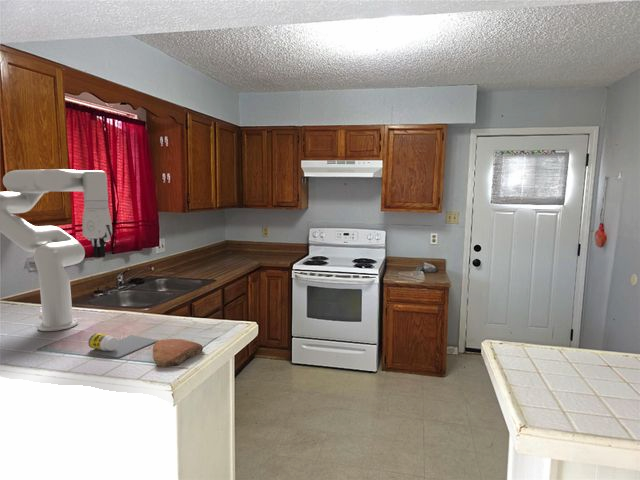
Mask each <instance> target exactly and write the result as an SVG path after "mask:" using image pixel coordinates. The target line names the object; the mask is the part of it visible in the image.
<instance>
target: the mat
mask: <svg viewBox="0 0 640 480" xmlns="http://www.w3.org/2000/svg"><path fill="white" fill-rule="evenodd" d="M117 341H118V345H117V347H116V348H115V349H114V350H112V351H109V350H108V351H103V350H98V349H94V348H93V349H92V350H89V353H92V354H95V355H101V356H104V357H105V356H106V357H110V358H115V359H120V358H122V357H125V356H127V355H129V354H131V353H135V352H137V351H139V350H141V349H144V348H146V347H148V346H150V345H154V344H155V343H156V341H159V339H155V338H150V337H149V338H148V337H144V336H137V335H132V334H131V335H129V336H125V337H122V338H120V339H117Z"/></svg>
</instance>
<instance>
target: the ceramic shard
mask: <svg viewBox="0 0 640 480" xmlns="http://www.w3.org/2000/svg"><path fill="white" fill-rule="evenodd" d="M203 349H204V347H203V345H202V344H200V343H198V342H195V341H190V340H187V339H182V338H181V339H180V338H168V339H167V338H166V339H161V340H159V339H158V341H156V343H153V347H152V358H153V361H154V362H155V364H157V366H158V367H159V368H165V367H166V368H167V367H172V366H173V367H174V366H179V365H182V363H184V362H185V361H186V360H187V359H188V358H192V357H194V356H195V355H198V354H201V353H202V352H203Z"/></svg>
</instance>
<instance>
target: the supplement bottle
mask: <svg viewBox="0 0 640 480" xmlns="http://www.w3.org/2000/svg"><path fill="white" fill-rule="evenodd" d="M117 340H118V339H117V338H116V337H113V336H111V335H110V334H109V335H108V334H103V333H99V332H95V333H92V334H91V335H90V336H89V338H88V340H87V345H88V347H89V348H91V349H93V350H94V349H98V350H103V351H108V350H109V351H112V350H114V349H115V348H116V347H117V345H118V341H117Z"/></svg>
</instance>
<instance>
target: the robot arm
mask: <svg viewBox="0 0 640 480" xmlns="http://www.w3.org/2000/svg"><path fill="white" fill-rule="evenodd" d="M2 184H3V186H4V187H5V188H6V189H7V190H9V191H0V234H2V235H4V236H5V237H6V238H7V239H9V240H10V241H11V242H12V243H14V244H16V245H17V246H18V247H19V248H20V249H22V250H23V251H25V252H28V253H33V260H34V264H35V266H36V270H37V274H38V281H39V283H38V284H39V292H40V304H41V315H40V316H39V317H38V319H39V320H41V321H42V322H41V323H40V324H39V325H38V326H37V328H38V330H39V331H40V332H56V331H62V330H67V329H71V328H73V327H75V326H77V325H78V322H79V321H78V319H76V318H74V317H73V307H72V306H73V305H72V304H73V303H72V292H71V291H72V290H71V281H70V279H71V278H70V276H69V274H68V273H67V271H66V269H65V267H68V266H69V267H70V266H72V265H73V266H74V265H77V264H80V263H81V262H82V261H83V260H84V259H85V255H86V251H85V248H84V246H83V245H82V244H81V242H80V241H78V240H77V239H75V237H73V236H72V235H70V234H69V233H68V232H66V231H65V230H63V229H62V228H60V227H58V226H55V225H39V226H38V225H33V224H32V223H30V222H28V221H27V220H26V219H24V218H23V217H21V216H18V215H16V214H24V213H27V212H29V211H30V210H32V209H33V208H34V206H36V204H37V203H38V201H40V199H41V198H42V197H43V196H44V194H47V193H50V192H62V193H63V192H80V193H81V192H83V206H84V209H83V212H82V236H83V237H84V238H86V240H88V241H90V242H91V245H92V247H93V256H94V258H97V259H99V258H105V257H106V245H107V243H108V242H110V241H112V240H111V237H112V235H113V225H112V217H111V213H110V212H111V211H110V208H109V193H108V191H109V190H108V175H107V172H105V171H103V170H96V169H95V170H94V169H93V170H78V169H77V170H76V169H65V168H63V169H61V168H60V169H59V168H56V169H53V168H52V169H51V168H50V169H16V170H14V169H13V170H11V171H8V172H7V173H5V175H4V176H3V178H2Z"/></svg>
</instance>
